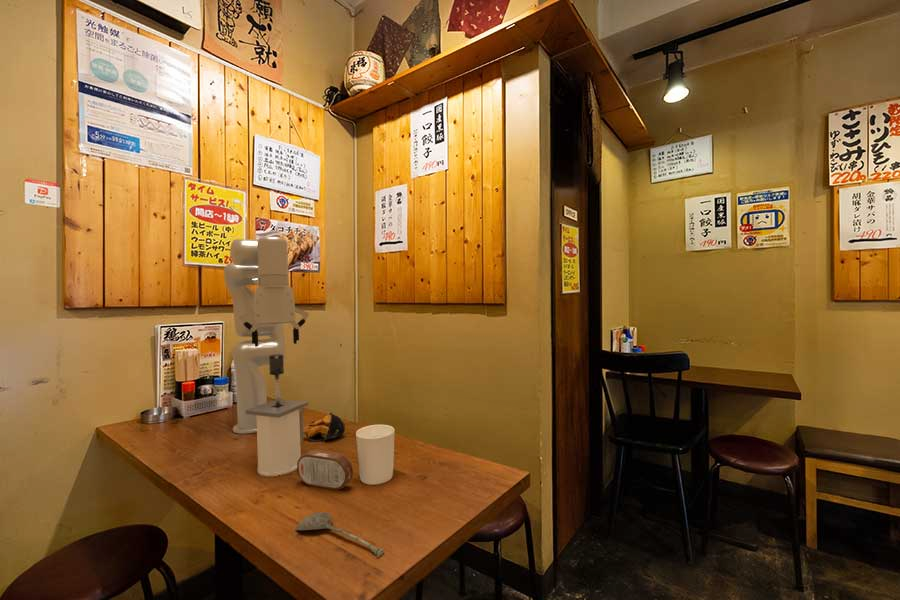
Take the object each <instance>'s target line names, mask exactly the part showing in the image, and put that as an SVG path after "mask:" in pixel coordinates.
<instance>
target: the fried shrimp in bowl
mask: <svg viewBox="0 0 900 600" xmlns="http://www.w3.org/2000/svg"><path fill="white" fill-rule="evenodd" d="M345 427H346V422H343V420H342V419H341V418H340V417H339V416H338V415H335V414H334V413H333V412H330V413H329V414H328V415H326V416H324V418H319V419H316V420H313V421H312V422H310V423H309V424H307V425H306V426H303V435H305V437H306V438H307V439H308V440H309V441H311V442H319V441H327V440H329V441H330V440H333V439H337V437H339V436H343V435H344V433H345V431H346V429H345Z"/></svg>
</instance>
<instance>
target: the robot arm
mask: <svg viewBox="0 0 900 600" xmlns="http://www.w3.org/2000/svg"><path fill="white" fill-rule="evenodd" d="M229 252H230V253H229V254H230V260H231V262H229V263H228V264H226V265H225V266H224V269H223V278H224V283H225V286H226V288H227V290H228V293H229V294H230V297H231V299H232V306H233V318H234V319H233V321H234V328H235V333H236V335H237V336H238V337H241V338H251V340H244V341H239V342H238V343H236V344H234V346H233V347H232V349H231V350H232V351H231V352H232V353H231V355H232V360H233V361H232V362H233V366H234V371H235V372H234V374H235V384H236V385H235V387H236V388H235V389H236V412H237V414H236V415H237V424H235V425H234V426H233V427H232V432H233V433H234V434H235V433H236V434H246V435H247V434H254V433H257V419H256V415H251V414H246V410H248V409H251V408H254V407H256V406H259V405H262V404H265V403H268V402H267V401H268V400H267V380H266V379H267V378H266V375H265V374H264V373H263V372H262V371H260V370H259V369H258V367H262V366H269V356H270V355H278V354H282V355H283V359H284V361H286V356H287V350H286V348H287V347H286V338H285V330H284V329H285V328H284V324H290V325H292V326H293V329H292V337H293V338H292V340H293V344H295V345H296V344H297V343H298V342H297V341H300V332H299V331H300V328H301V327H302V326H303V325H304V324H305V323H306V321H307V319H308V317H309V314H310V313H309V312H306V311H305V310H303V309H300V308H298V307H296V303H295V296H294V290H293V287H292V286H290V283H289V281H290V280H289V253H288V242H287V240H286V239H285V238H284V237H280V236H262V237H259V238H258V239H249V238H248V239H244V238H243V239H242V238H238V239H233V240H232V242H231V244H230V249H229ZM248 286H258V287H255V290H254V291H253V290H252V289H251V288H250V287H248ZM296 314H299V315H301V316H302V317H301V318H300V320H299V321H298V322H296V321H295V320H296ZM264 336H265V337H269V338H265V339H259V337H264Z"/></svg>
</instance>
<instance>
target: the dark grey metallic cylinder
mask: <svg viewBox="0 0 900 600" xmlns="http://www.w3.org/2000/svg"><path fill="white" fill-rule="evenodd" d="M284 362H285V360H284V359H283V355H282V354H278V355H270V356H269V365H268V367H269V375H270V376H274V396H275V397H274V400H275V403H276V408H279V407H280V399H281V390H280V389H281V388H280V387H281V385H280V384H281V383H280V375H282V374H284V373H285V369H284V368H285V363H284Z"/></svg>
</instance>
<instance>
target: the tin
mask: <svg viewBox="0 0 900 600" xmlns="http://www.w3.org/2000/svg"><path fill="white" fill-rule="evenodd" d="M296 470H297V475H298V477H299V478H300V480H301V481H302V482H303V483H304V484H306V485H308V486H311V487H317V488H323V489H329V490H334V491H337V490H338V491H339V490H341V489H344V487H345V486H347V485H349V484H350V483H351V481H352V479H353V478H354V477H353V476H354V468H353V465H352V463H351V461H350V459H349V458H348V457H346V456H345V455H344V454H342V453H340V452H339V453H338V452H332V451H326V450H318V449H310V450H307V451H306V452H305V453H304V454H301V457H300V458H299V460H298V462H297V469H296Z"/></svg>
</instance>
